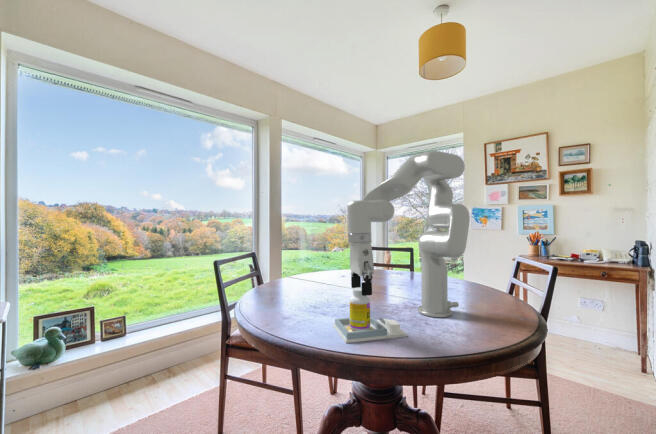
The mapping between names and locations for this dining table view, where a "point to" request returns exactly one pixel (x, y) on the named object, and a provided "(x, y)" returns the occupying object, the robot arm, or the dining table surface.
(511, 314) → the dining table surface
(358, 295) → the supplement bottle
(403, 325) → the dining table surface
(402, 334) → the charging dock
